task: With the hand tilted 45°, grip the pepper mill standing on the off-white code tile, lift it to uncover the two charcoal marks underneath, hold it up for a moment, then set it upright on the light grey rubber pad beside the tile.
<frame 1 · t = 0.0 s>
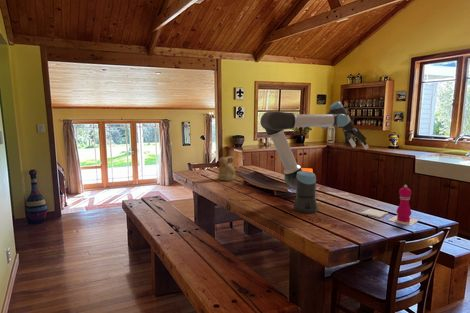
hand: (360, 147, 219), 36 cm above the table, tool tilted 35°, fingers open, 13 cm apart
code tile: (403, 220, 178), on the table
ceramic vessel: (227, 179, 292), on the table
orange juice: (305, 195, 234), on the table
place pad: (374, 214, 189), on the table
pepper mill: (403, 220, 178), resting on code tile
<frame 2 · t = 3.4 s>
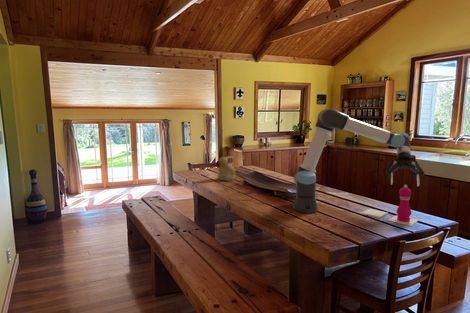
hand: (404, 184, 184), 19 cm above the table, tool tilted 45°, fingers open, 13 cm apart
nothing on the table moved.
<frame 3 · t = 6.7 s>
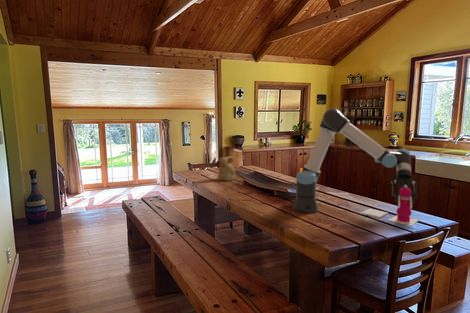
hand: (405, 207, 173), 8 cm above the table, tool tilted 45°, fingers closed on pepper mill, 5 cm apart
pepper mill: (403, 220, 178), resting on code tile, touching gripper
everything else where it was.
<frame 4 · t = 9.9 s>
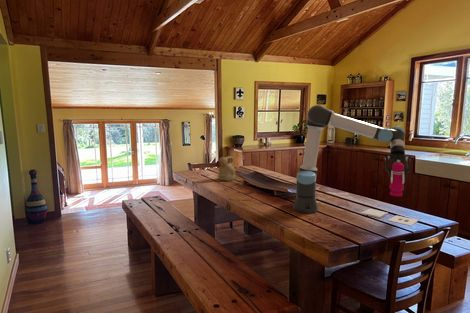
hand: (397, 181, 175), 22 cm above the table, tool tilted 45°, fingers closed on pepper mill, 5 cm apart
pepper mill: (395, 195, 179), point 13 cm above the table, touching gripper
everything else where it was.
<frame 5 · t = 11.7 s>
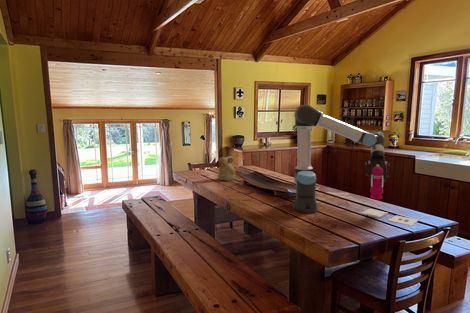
hand: (377, 185, 183), 18 cm above the table, tool tilted 45°, fingers closed on pepper mill, 5 cm apart
pepper mill: (376, 198, 188), point 10 cm above the table, touching gripper
everything else where it was.
when the fingers open (11 cm above the table, at t = 13.3 s): pepper mill moves 3 cm, resting on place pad.
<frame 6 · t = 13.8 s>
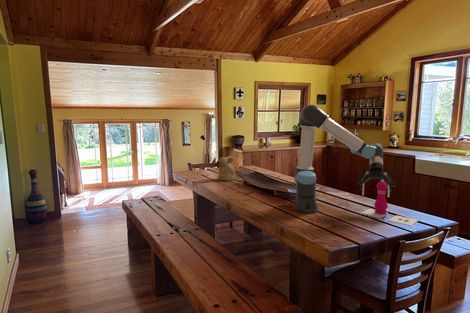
hand: (375, 195, 185), 12 cm above the table, tool tilted 45°, fingers open, 13 cm apart
pepper mill: (380, 213, 188), point 1 cm above the table, touching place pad
everything else where it was.
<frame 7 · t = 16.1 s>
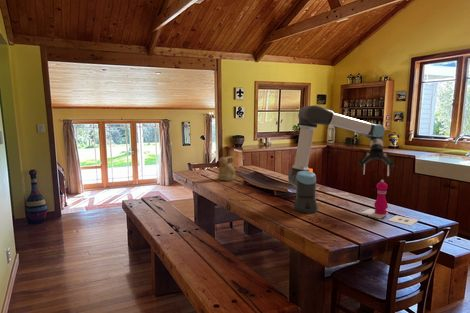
hand: (375, 174, 196), 22 cm above the table, tool tilted 45°, fingers open, 13 cm apart
nothing on the table moved.
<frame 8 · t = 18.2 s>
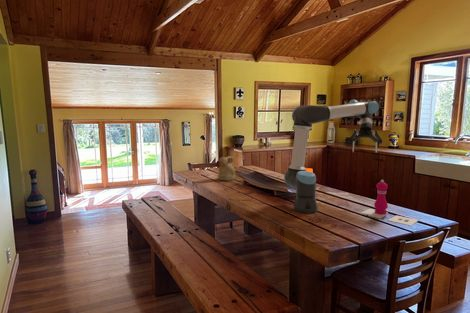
hand: (364, 150, 202), 36 cm above the table, tool tilted 45°, fingers open, 13 cm apart
nothing on the table moved.
at the end: pepper mill 3.2 cm off-centre on the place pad, point 0.8 cm above the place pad's base; pepper mill tilted 0°; the gripper is holding nothing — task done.
